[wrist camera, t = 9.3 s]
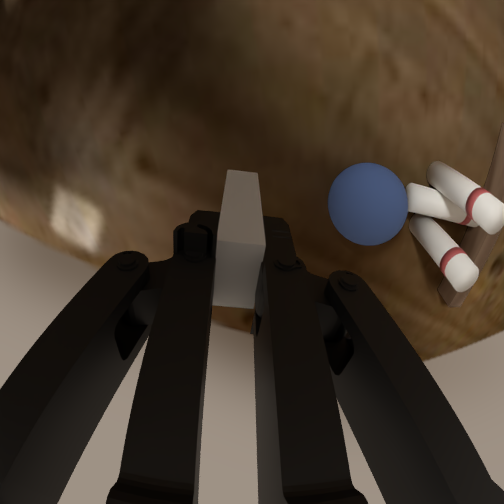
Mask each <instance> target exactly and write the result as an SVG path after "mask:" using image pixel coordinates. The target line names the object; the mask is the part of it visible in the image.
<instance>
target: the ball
mask: <svg viewBox="0 0 504 504" xmlns="http://www.w3.org/2000/svg"><path fill="white" fill-rule="evenodd" d="M328 210H329V215H330V217H331V220H332V222H333V224H334V226H335V227H336V229H337V230H338V231H339V232H340V233H341V234H342V235H343V236H344V237H345V238H347V239H348V240H350V241H352V242H354V243H357V244H360V245H378V244H382V243H384V242H386V241H388V240H390V239H392V238H393V237H394V236H395V235H396V234H397V233H398V232H399V231H400V230H401V228H402V226H403V225H404V223H405V220H406V217H407V213H408V198H407V194H406V191H405V188H404V186H403V184H402V182H401V181H400V179H399V178H398V177H397V176H396V175H395V174H394V173H393V172H392V171H390V170H389V169H387V168H386V167H383V166H381V165H378V164H375V163H359V164H355V165H352V166H350V167H348V168H346V169H345V170H344V171H342V172H341V173H340V174H339V175H338V176H337V177H336V179H335V180H334V182H333V184H332V186H331V188H330V191H329V196H328Z"/></svg>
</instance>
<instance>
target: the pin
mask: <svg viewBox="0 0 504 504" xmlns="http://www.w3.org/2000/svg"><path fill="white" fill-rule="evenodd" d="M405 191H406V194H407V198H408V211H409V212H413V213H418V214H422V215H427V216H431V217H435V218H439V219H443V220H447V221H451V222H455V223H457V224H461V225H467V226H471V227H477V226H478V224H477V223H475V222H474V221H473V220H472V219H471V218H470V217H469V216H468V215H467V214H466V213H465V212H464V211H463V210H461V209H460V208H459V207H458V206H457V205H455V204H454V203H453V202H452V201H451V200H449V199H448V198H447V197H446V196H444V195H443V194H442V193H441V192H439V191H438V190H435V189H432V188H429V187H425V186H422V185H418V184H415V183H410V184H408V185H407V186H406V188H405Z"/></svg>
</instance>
